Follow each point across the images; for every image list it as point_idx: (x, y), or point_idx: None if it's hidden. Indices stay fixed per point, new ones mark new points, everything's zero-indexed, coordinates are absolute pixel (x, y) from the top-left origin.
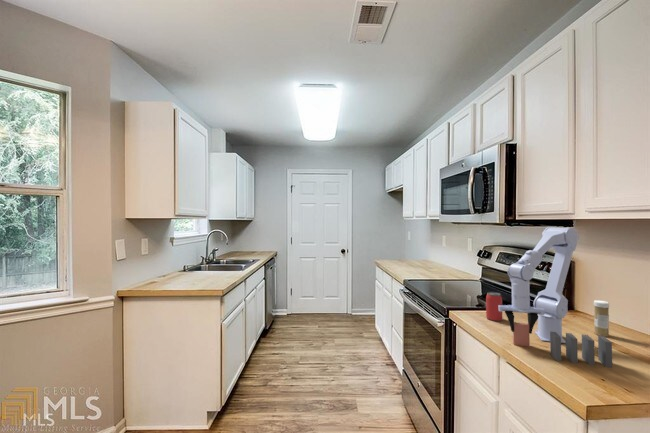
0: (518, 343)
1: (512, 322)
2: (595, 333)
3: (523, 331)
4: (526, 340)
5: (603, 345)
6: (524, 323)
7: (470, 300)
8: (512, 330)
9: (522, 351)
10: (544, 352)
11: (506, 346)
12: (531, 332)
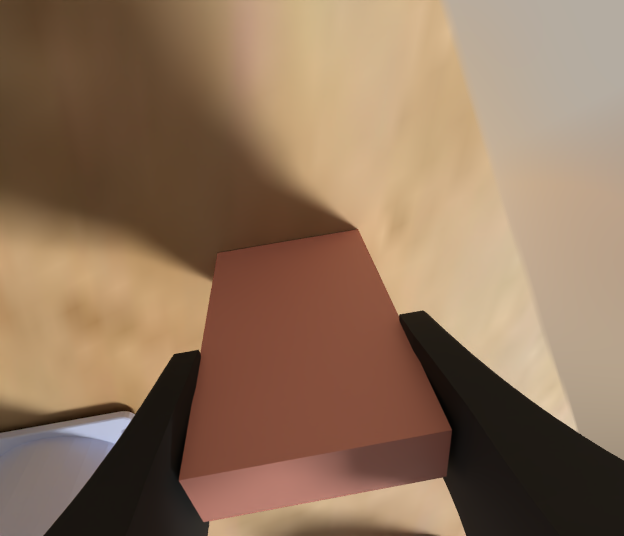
0: (320, 245)
1: (511, 428)
2: None
3: (277, 357)
4: (243, 284)
5: None
6: (262, 505)
7: None
8: (430, 320)
9: (289, 69)
10: (60, 160)
11: (442, 147)
12: (167, 364)
